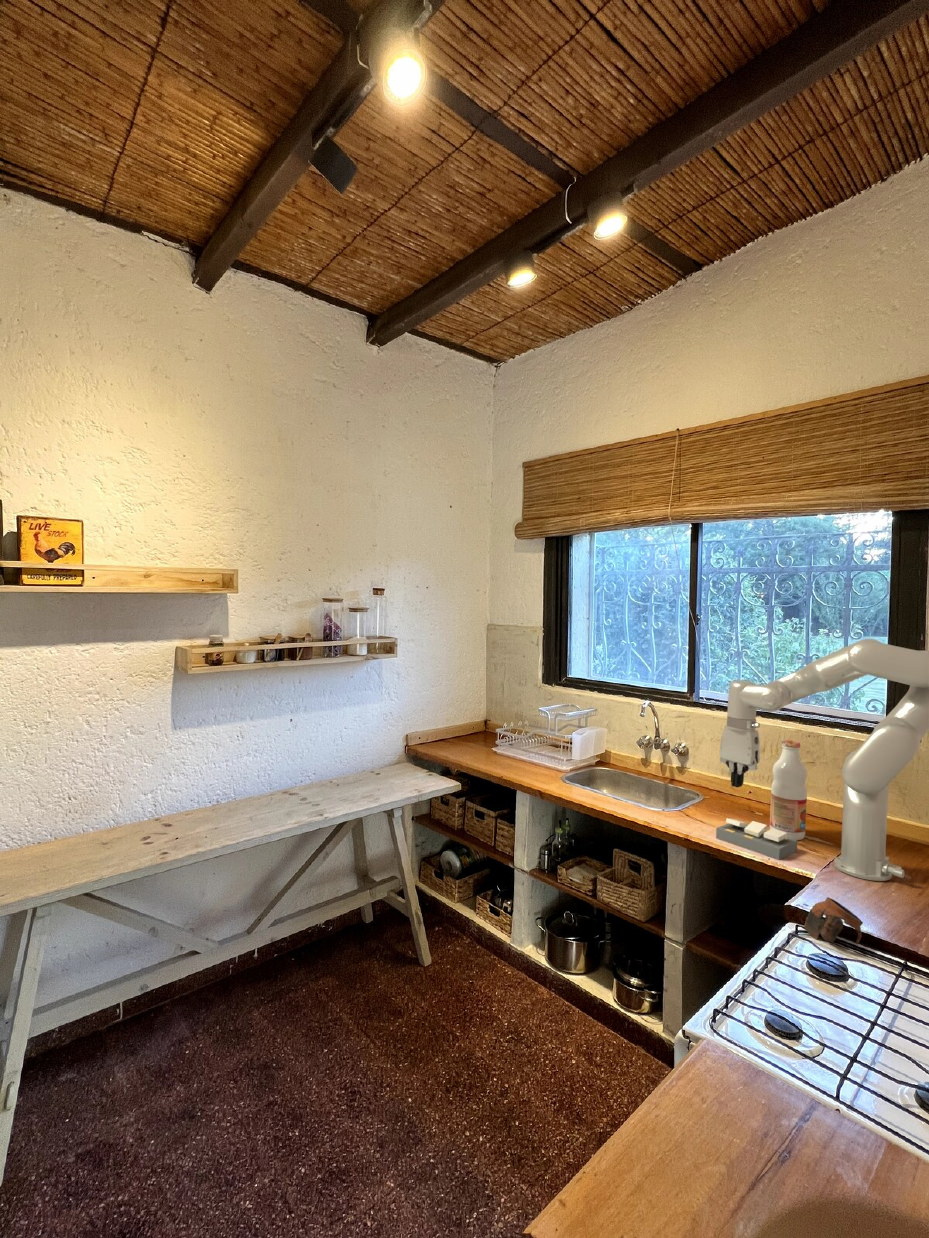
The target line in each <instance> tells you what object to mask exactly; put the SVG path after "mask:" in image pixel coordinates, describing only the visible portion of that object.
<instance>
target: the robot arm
mask: <svg viewBox="0 0 929 1238" xmlns="http://www.w3.org/2000/svg"><path fill="white" fill-rule="evenodd" d="M865 676H872V677H875V678H879V679H883V680H887V681H891V682H897V683H900V684H904V685H908V686H909V689H908V691H907V692H906V693H905V694H904V695H903V697H902V698H901V699H900V700H899V702H897V704H896V706H894V708H893V709H892V710H891V711H890V712H889V713H888V714H887V716H885V717H884V718H883V719H882V720H881V721H879V723H878V722H877V724H876V725H875V727H874V729H873V731H872V732H871V733H870V735H868V736H867V738H866V739H865V740H864V741H863V742H862V743H861V745H859V747H858V748H857V749H855V750H853V751H851V752H850V753H849V754H848V755H847V756H846V758H845V760H844V761H843V765H842V769H841V776H842V779H843V781H844V784H843V799H842V800H843V801H842V802H843V803H842V804H843V805H842V824H841V827H842V828H841V847H840V848H841V849H840V856H837V857H835V858H834V859H833V866H834V867H835V868H836V869H837V870H839V871H841V872H843V873H844V874H847V875H849V876H851V877H855V878H858V879H863V880H868V881H872V882H873V881H874V882H883V881H885V882H886V881H888V880H891V879H892V877H893V876H895V877H897V878H901V879H904V878H905V870H904V869H903V867H901V866H899V865H895V864H893V863H891V862H890V856H886V849H887V828H888V827H887V824H888V822H887V821H888V807H889V787H890V786H889V785H890V783H891V782H892V781H894V779H895V778H896V777H897V776H898V775H899V774H900V773H901V772H902V771H903V769H905V767H906V766H908V764H910V762H912V760H913V759H914V757H915V756H916V755H917V754H918V751H919V749H920V746H921V745H920V743H921V741H922V739H923V738H924V737H925V736H926V734H927V733H928V732H929V650H923V649H922V650H916V649H911V648H906V647H901V646H896V645H893V644H892V645H891V644H888V643H885V642H881V641H879V640H877V639H874V638H863V639H861V640H858V641H856V642H853V643H851V644H850V645H847V646H845V647H843V648H841V649H837V650H836V651H833V652H832V653H829V654H827V655H824V656H823V657H820V658H818V659H816V660H813V661H811V662H810V663H808V664H806V665H805V666H804V667H802V668H800V669H798V670H796V671H794V672H791V673H789V674H787V675H785V676H782V677H780V678H778V679H776V680H773V681H772V682H769V683H766V684H757V683H755V682H753V681H750V680H749V681H748V680H739V679H737V680H732V681H731V682H729V686H728V701H727V716H726V717H727V718H726V725H725V726H724V727H723V729H722V733H721V737H720V738H721V739H720V742H719V743H720V744H719V756H720V757H719V761H720V762H721V763H723V764H725V765H726V767H727V768H729V769H728V770H729V772H730V782H731V787H735V788H740V787H743V785H744V779H745V774H746V773H747V772H748V771H757V770H758V764H759V763H760V761H761V744H760V741H761V740H760V735H759V730H757V729H758V728H760V726H761V724H760V723H759V722H758V721H757V710H761V711H765V712H768V713H769V712H778V711H779V710H781V709H783V708H784V707H786V706H788V705H791V704H793V703H794V702H798V701H800V700H801V699H804V698H807V697H810V696H812V695H814V694H817V693H823V692H828V691H832V690H834V689H836V688H839V687H841V686H844V685H845V684H848V683H850V682H853V681H856V680H858V679H860V678H862V677H865ZM756 728H757V729H756Z"/></svg>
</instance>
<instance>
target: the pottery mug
mask: <svg viewBox="0 0 929 1238" xmlns="http://www.w3.org/2000/svg"><path fill="white" fill-rule="evenodd" d="M824 916H825V917H824ZM823 917H824V919H823ZM844 924H845V925H848V926H850V927H851V928H853V929H854V931H856V934H857V938H856V940H855V942H856V944H859V943H860V941H861V938H862V929H861V926H862V925H863V924H864V923H863V921H862V920H861V919H860V918H859V917H858V916H857V915H856V914H855V913H853V912H852V911H850V909H848V908H846V906H844V905H843V904H841V903H839V902H838V901H836V900H835V899H833V898H831V897H826V899H825V900H824V901H819V902H817V903H815V904H813V905H812V908H810V909H809V912H808V914H807V917H806V918H805V923H804V925H803V928H804V930H805V931H806V932H807V933H808V934H809V935H810V936H811V937H812V938H813V939H814V940H816V941H817V940H819V937H820V936H821V938H823V940H824V941H827V942H831V943H834V942H835V940H836V939H837V937H838V935H839V934H840V933H841V931H842V930H843V927H844Z"/></svg>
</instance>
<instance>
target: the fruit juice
mask: <svg viewBox="0 0 929 1238" xmlns="http://www.w3.org/2000/svg"><path fill="white" fill-rule="evenodd" d="M781 747H782V749H781V754H780V757H778V759H777V760H776V761H775V763H774V764H773V766H772V775H773V781H772V783H771V787H770V789H771V790H770V807H769V809H770V810H769V811H770V812H769V813H770V815H769V830H770V829H772V828H773V829H776V830H779V831H782V832H786V833H787V838H790V839H794V840H797V841H800V840H804V839H805V837H806V822H807V820H806V819H807V801H808V800H807V798H808V791H807V786H806V780H807V777H808V770H807V768H806V766H805V765H804V763H803V762H802V760H801V756H800V749H801V743H800V742H799V741H796V740H787V739H786V740H782V741H781Z"/></svg>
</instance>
